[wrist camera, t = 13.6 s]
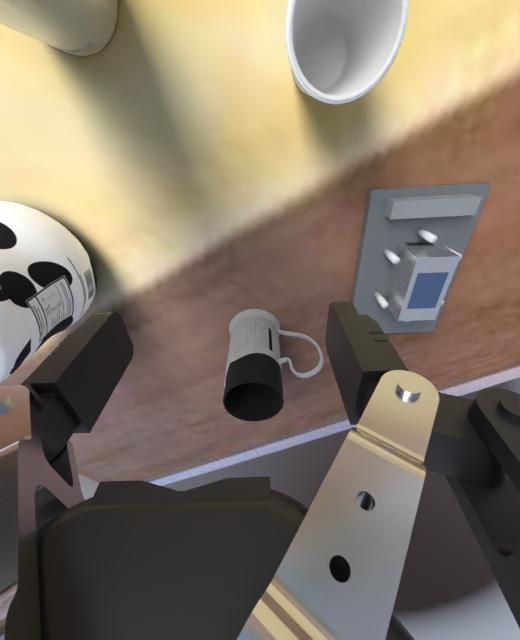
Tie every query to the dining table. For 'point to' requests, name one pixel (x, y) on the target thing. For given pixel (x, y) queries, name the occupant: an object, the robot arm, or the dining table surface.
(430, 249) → the block
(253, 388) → the white and black mug
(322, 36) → the dixie cup
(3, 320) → the milk container
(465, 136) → the dining table surface
